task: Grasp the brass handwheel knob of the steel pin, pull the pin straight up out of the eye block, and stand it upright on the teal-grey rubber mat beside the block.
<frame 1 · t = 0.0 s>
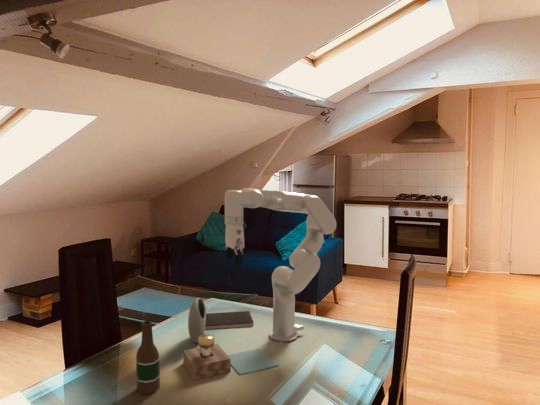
hand: (233, 261, 180), 37 cm above the table, tool pointing down, fingers open, 9 cm apart
mat: (250, 361, 171), on the table
pin: (206, 352, 165), in the eye block
planter: (197, 341, 189), on the table
eye block: (206, 367, 166), on the table
hardcover book: (227, 322, 212), on the table
beer bottle: (148, 389, 150), on the table
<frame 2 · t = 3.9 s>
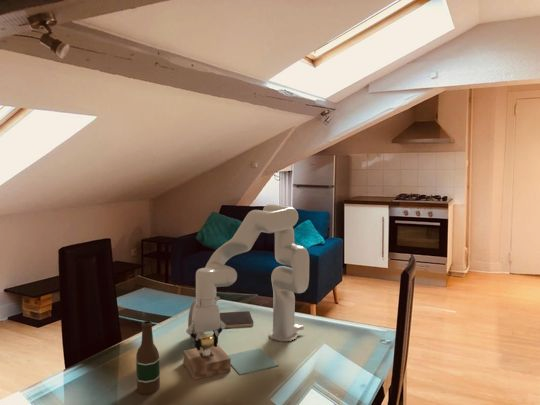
hand: (206, 346, 165), 8 cm above the table, tool pointing down, fingers closed on pin, 6 cm apart
pin: (206, 352, 165), in the eye block, touching gripper
everything else where it was.
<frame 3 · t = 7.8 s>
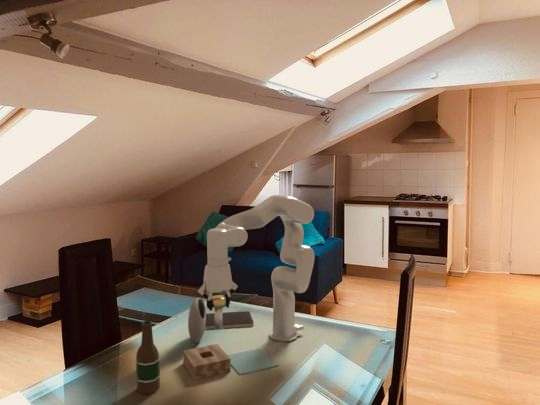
hand: (218, 307, 165), 23 cm above the table, tool pointing down, fingers closed on pin, 6 cm apart
pin: (218, 312, 165), point 21 cm above the table, touching gripper
everything else where it was.
when the fingers open (9 cm above the table, at t = 12.1 s): pin stays where it is, resting on mat.
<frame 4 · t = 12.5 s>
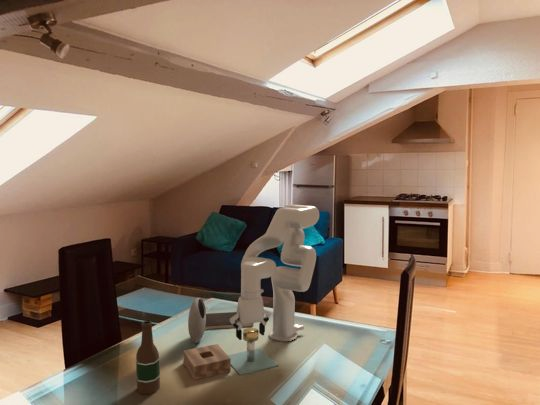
hand: (250, 336, 170), 10 cm above the table, tool pointing down, fingers open, 9 cm apart
pin: (250, 345, 170), on the mat
everything else where it was.
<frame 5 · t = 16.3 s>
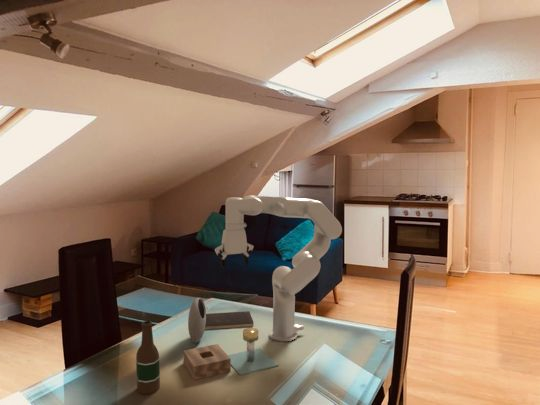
hand: (234, 266, 185), 33 cm above the table, tool pointing down, fingers open, 9 cm apart
nothing on the table moved.
at the end: pin inside the target area (0.1 cm from its centre), resting on mat; pin tilted 0°; pin touching mat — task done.
